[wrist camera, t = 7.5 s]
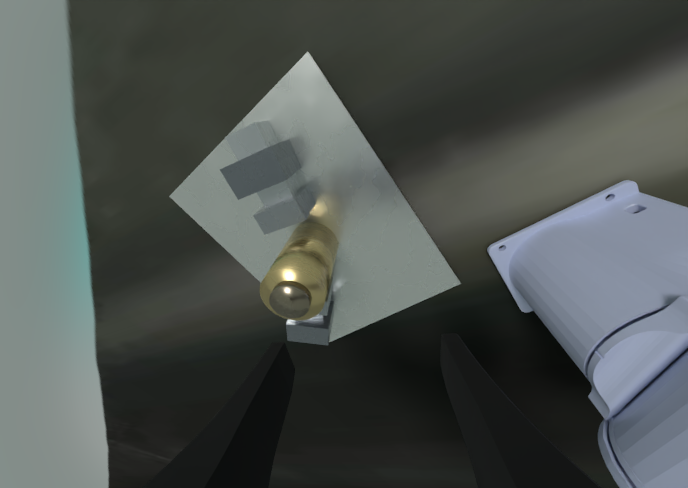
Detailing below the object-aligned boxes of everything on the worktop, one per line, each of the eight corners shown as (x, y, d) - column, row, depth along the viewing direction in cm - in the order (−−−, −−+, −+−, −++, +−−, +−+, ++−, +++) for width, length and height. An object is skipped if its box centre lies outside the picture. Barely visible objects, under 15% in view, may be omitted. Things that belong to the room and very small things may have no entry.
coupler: (317, 212, 19) (290, 263, 13) (347, 250, 20) (336, 311, 14) (280, 238, 21) (241, 294, 14) (311, 271, 22) (287, 335, 16)
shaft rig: (309, 52, 15) (291, 37, 11) (459, 280, 21) (475, 312, 18) (172, 194, 20) (133, 212, 17) (326, 340, 27) (319, 373, 23)
